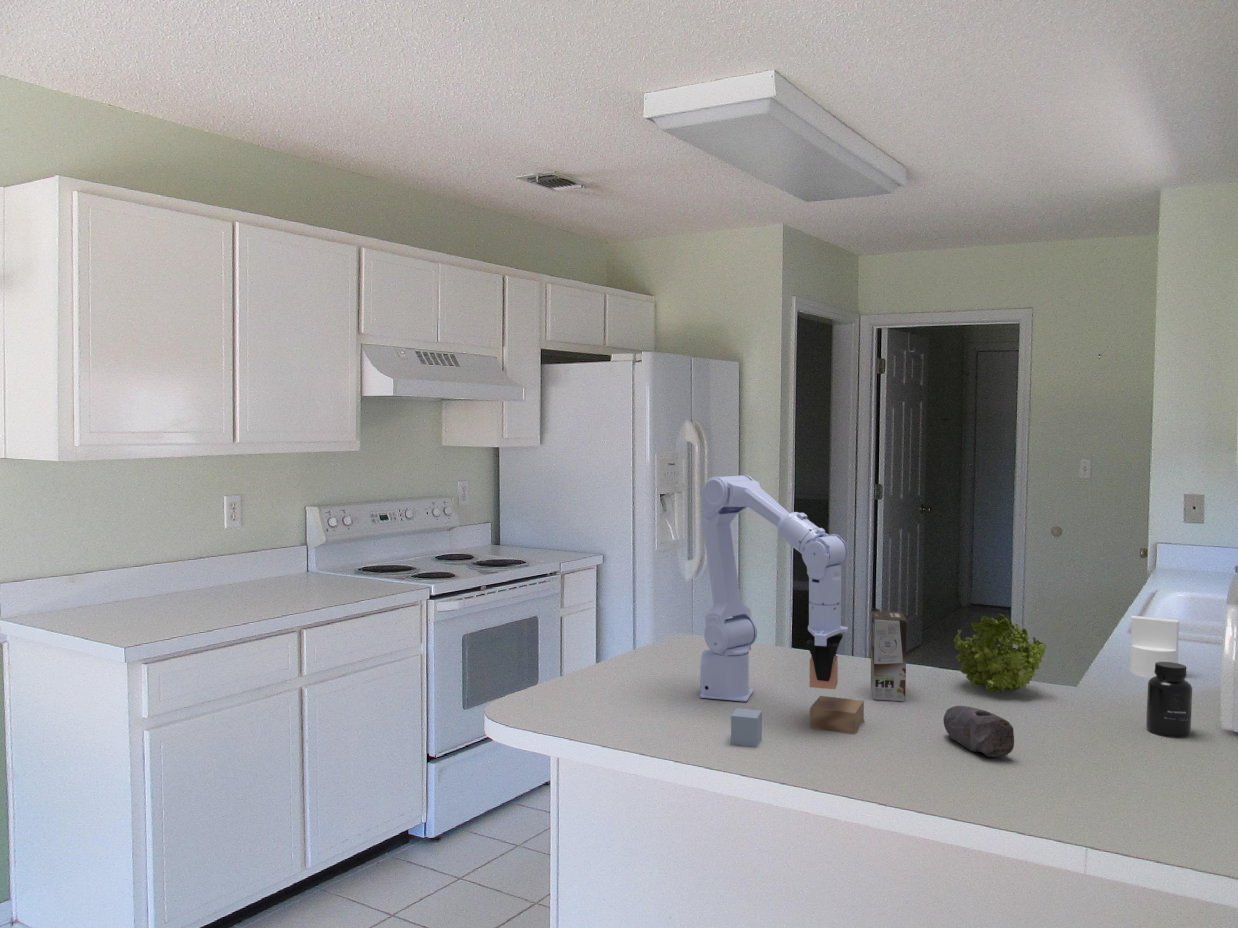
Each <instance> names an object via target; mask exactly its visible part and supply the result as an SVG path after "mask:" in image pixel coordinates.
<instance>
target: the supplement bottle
mask: <svg viewBox="0 0 1238 928" xmlns="http://www.w3.org/2000/svg"><path fill="white" fill-rule="evenodd" d="M1154 673H1155V674H1156V676H1155V677H1152V678H1149V680H1148V682H1147V695H1146V696H1147V697H1146V698H1147V699H1146V716H1145V717H1146V719H1145V720H1146V721H1145V722H1146V723H1145V724H1146V729H1147V730H1148V731H1149V732H1151V733H1153V734H1156V735H1159V736H1163V737H1168V738H1186V737H1188V736H1190V734H1191V729H1192V728H1191V727H1192V710H1193V709H1192V705H1193V687H1192V685H1191V683H1190V682H1189V681H1187V680H1186V678H1187V677H1188V676H1187V665H1184V664H1182V663H1179V662H1178V663H1173V662H1156V663H1155V670H1154Z"/></svg>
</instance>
